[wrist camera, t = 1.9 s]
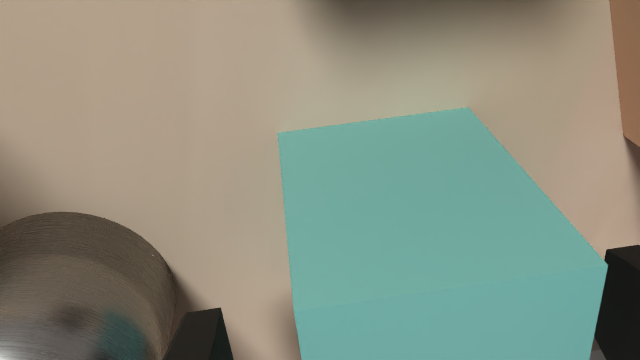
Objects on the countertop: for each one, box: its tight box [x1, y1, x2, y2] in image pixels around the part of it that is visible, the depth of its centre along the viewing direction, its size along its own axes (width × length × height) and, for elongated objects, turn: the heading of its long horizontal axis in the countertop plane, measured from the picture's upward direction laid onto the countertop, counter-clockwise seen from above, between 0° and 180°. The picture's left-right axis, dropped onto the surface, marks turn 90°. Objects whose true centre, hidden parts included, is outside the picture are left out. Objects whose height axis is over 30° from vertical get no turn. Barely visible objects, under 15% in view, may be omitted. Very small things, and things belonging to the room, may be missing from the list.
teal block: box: [278, 108, 608, 360], centre depth 12 cm, size 4×4×6 cm
